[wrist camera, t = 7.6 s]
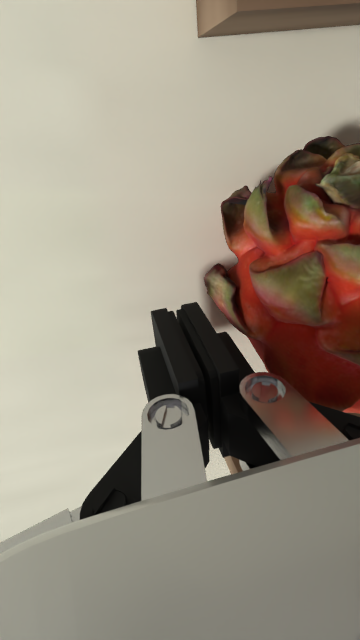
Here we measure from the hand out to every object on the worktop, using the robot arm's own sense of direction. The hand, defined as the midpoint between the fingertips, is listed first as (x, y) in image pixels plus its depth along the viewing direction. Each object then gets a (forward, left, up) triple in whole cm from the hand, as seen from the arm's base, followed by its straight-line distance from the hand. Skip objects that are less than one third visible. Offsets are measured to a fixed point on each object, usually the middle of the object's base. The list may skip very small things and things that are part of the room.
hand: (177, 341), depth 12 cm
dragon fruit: (-1, +6, -3) cm, 7 cm away
